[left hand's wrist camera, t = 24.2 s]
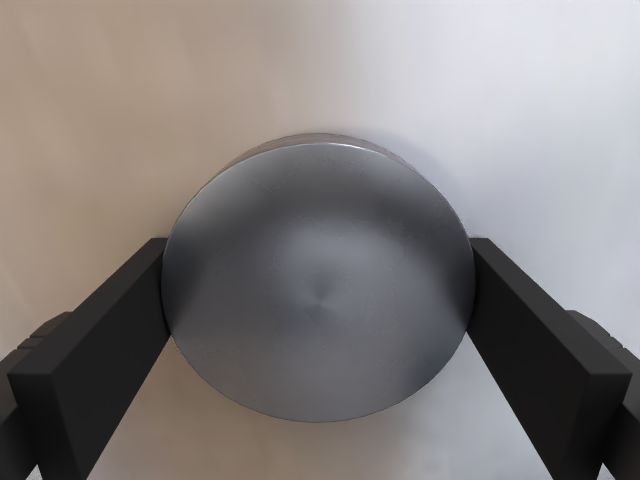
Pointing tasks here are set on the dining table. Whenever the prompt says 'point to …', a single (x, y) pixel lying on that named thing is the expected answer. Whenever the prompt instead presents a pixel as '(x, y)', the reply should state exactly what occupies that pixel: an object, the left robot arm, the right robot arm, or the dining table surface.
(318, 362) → the lid
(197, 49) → the dining table surface
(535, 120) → the dining table surface
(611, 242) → the dining table surface
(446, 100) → the dining table surface
